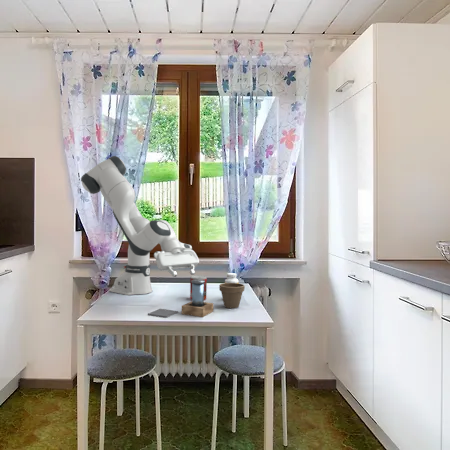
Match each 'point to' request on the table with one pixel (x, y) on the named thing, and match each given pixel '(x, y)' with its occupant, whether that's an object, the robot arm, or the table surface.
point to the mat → (163, 313)
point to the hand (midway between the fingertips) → (184, 275)
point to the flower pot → (231, 294)
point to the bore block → (197, 309)
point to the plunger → (198, 292)
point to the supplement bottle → (231, 278)
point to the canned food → (204, 284)
